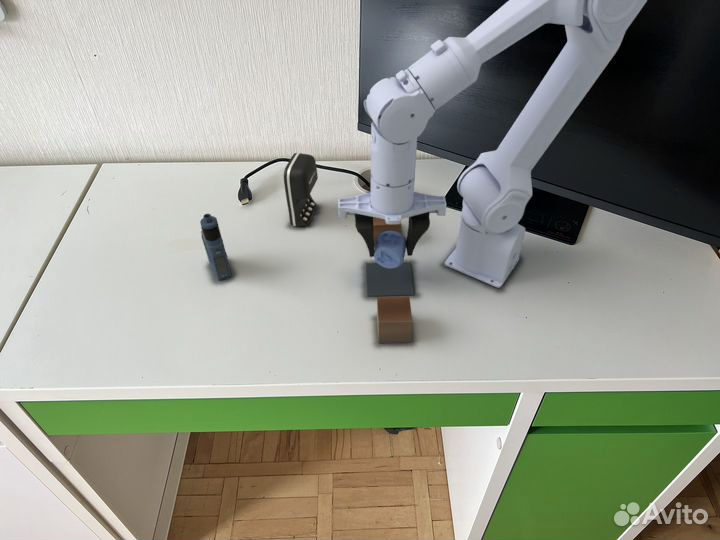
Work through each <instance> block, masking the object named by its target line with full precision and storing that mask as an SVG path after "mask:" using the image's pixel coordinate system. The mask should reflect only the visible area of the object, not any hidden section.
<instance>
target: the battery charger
mask: <svg viewBox="0 0 720 540" xmlns="http://www.w3.org/2000/svg"><path fill="white" fill-rule="evenodd" d="M316 162H317V161H316V158H315V156H313V155H312V154H308V153H301V152H294V153H293V154H292V155H291V156H290V159H289V160H288V162H287V164H286V166H285V168H284V171H283V184H284V191H285V198H286V204H287V211H288V218H289V225H291V226H293V227H306V226H308V225H309V224H310V222H311V220H312V218H313V216H314V214H315V212H316V211H317V204H316V202H315V199H313V197H312V195H311V193H312V191H313V189H314V187H315V185H316V183H317V181H318V179H319V176H318V168H317V163H316Z"/></svg>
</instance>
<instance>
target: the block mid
mask: <svg viewBox="0 0 720 540" xmlns="http://www.w3.org/2000/svg"><path fill="white" fill-rule="evenodd" d="M373 228H374V232H373V238H374V247H375V244H376V240H377V237H378V235H379V234H381V233H383V232H385V231H396V232H398V233H400V234H402V222H401V223H400V224H387V223H386V222H385V219H380V218H376V217H373Z"/></svg>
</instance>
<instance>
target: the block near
mask: <svg viewBox="0 0 720 540" xmlns="http://www.w3.org/2000/svg"><path fill="white" fill-rule="evenodd" d="M376 327H377V343H378V344H392V343H397V344H398V343H412V342H411V341H412V330H413V315H412V306H411V298H410V296H377V298H376Z"/></svg>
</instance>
